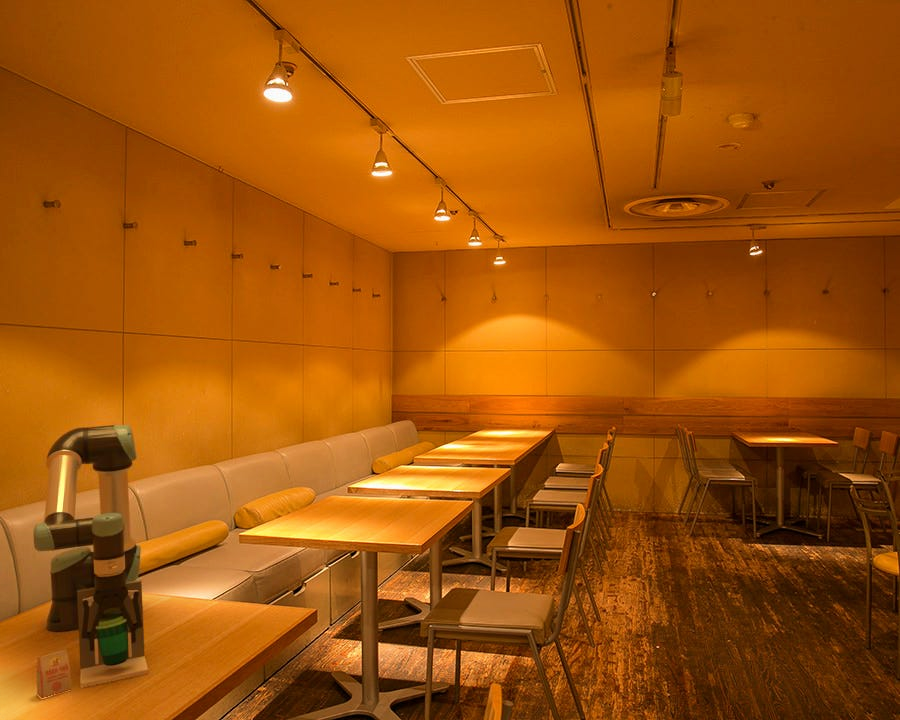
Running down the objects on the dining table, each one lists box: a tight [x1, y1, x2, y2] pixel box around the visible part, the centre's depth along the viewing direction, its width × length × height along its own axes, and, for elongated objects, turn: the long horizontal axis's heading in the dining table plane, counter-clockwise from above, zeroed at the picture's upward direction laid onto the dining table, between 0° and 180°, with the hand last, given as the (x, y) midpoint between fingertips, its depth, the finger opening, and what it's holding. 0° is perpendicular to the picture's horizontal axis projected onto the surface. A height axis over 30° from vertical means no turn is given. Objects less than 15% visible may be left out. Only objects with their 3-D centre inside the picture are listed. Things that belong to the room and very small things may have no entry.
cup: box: [96, 612, 128, 666], centre depth 194 cm, size 8×8×12 cm
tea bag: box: [35, 649, 72, 698], centre depth 185 cm, size 4×7×10 cm, turn 134°
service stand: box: [77, 580, 149, 689], centre depth 196 cm, size 12×16×22 cm
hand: (113, 658), depth 194 cm, fingers closed on cup, 7 cm apart
